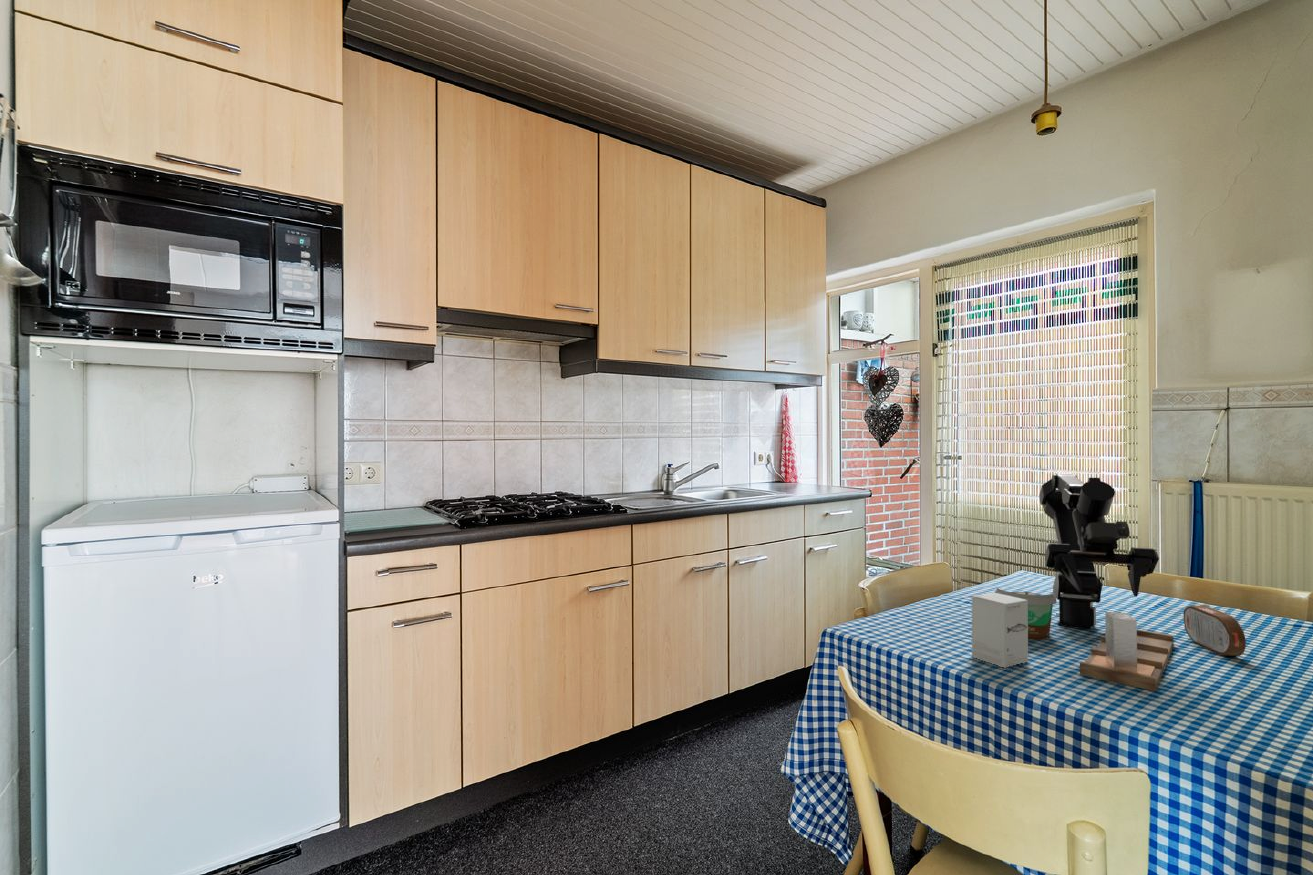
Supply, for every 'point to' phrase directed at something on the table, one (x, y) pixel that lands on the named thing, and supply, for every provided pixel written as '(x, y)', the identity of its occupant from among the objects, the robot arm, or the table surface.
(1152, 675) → the rack
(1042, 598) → the food container
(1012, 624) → the supplement box
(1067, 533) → the robot arm
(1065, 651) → the table surface
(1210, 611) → the tin
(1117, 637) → the brushed grey box
